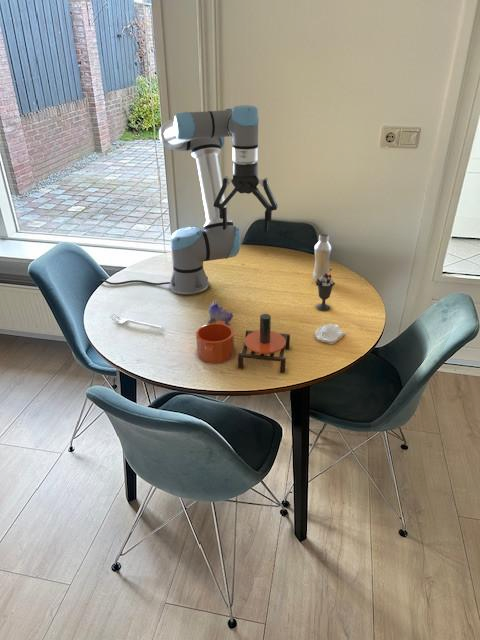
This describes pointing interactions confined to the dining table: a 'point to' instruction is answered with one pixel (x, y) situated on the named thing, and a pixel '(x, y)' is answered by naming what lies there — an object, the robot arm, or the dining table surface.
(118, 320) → the cooking utensil
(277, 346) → the lid
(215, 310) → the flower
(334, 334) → the rose
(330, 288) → the sundae
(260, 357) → the rack
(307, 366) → the dining table surface
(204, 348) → the pot
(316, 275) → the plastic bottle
